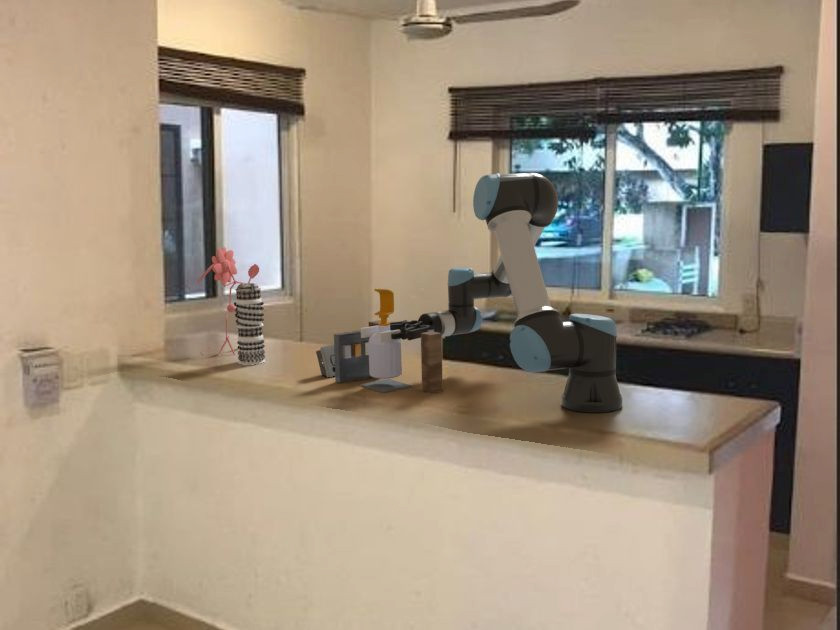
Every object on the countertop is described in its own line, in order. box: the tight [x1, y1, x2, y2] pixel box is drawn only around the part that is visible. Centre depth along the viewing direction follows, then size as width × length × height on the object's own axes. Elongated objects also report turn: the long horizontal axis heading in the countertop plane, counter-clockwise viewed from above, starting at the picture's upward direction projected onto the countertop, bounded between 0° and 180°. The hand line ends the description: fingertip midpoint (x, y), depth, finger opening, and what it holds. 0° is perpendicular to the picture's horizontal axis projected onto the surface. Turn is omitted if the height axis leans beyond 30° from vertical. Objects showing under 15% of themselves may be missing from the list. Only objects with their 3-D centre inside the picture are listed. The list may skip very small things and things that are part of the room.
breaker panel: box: [333, 329, 372, 384], centre depth 273 cm, size 4×12×14 cm, turn 128°
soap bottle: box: [368, 288, 403, 380], centre depth 263 cm, size 9×9×25 cm
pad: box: [360, 378, 413, 394], centre depth 266 cm, size 11×10×1 cm
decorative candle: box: [233, 282, 266, 366], centre depth 299 cm, size 9×9×25 cm
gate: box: [368, 319, 443, 394], centre depth 268 cm, size 29×4×16 cm, turn 38°
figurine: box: [197, 246, 266, 355], centre depth 318 cm, size 15×26×35 cm, turn 150°
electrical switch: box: [315, 343, 335, 378], centre depth 282 cm, size 9×5×9 cm, turn 141°
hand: (370, 335), depth 260 cm, fingers closed on soap bottle, 8 cm apart
